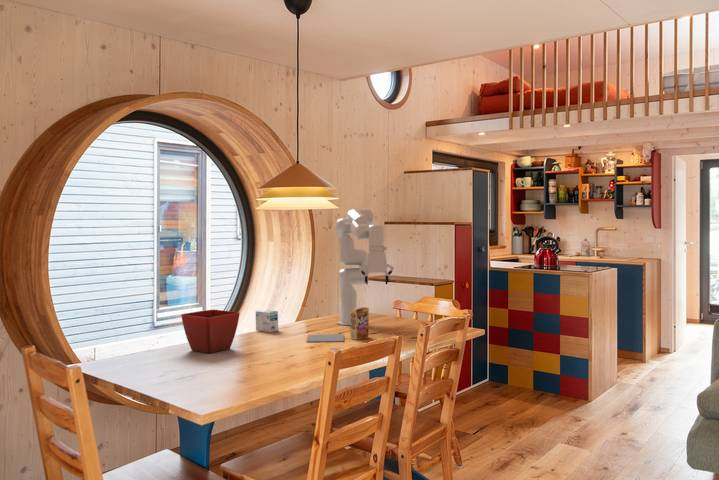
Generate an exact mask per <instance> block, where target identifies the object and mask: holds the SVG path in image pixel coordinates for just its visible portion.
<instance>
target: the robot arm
mask: <svg viewBox="0 0 719 480" xmlns="http://www.w3.org/2000/svg"><path fill="white" fill-rule="evenodd" d="M374 217H375V216H374V213H373V211H372V210H371V209H369V208H353V209H350V210H348V212H347V213H346V217H343V218H339V219H337V221H336V222H335V232H336V236H337V238H338V245H339V261H340V264H341V265H342V266H358V267H345V268H342V269H340V270H338V273H337V277H338V279H337V280H338V285H339V320H338V321H336V323H337V325H340V326H351V309H352V308H358V307H357V306H358V305H357V304H358V301H357V297H358V296H357V295H358V294H357V290H356V289H355V287H354V285H365V284H366V285H368V283H369V277H370V275H369V273H370V274H371V273H373V274H374V273H377V274H378V273H384V274H385V278H384V279H385V285H388V283H389V277H390V275H391V274H392V273H393V271H394V269H395V267H394V266H393V265H390V264H388V263H387V262H388V260H387V254H386V252H385V251H387V250H388V247H386V246H385V239H384V238H385V235H384V234H385V229H384V226H383V224H376V223H374ZM373 223H374V224H373ZM353 237H354V238H355V239H357V240H368V252H367V250H366V249H363V248H355V240H354V238H353ZM388 269H389V271H388V272H387V270H388Z"/></svg>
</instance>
